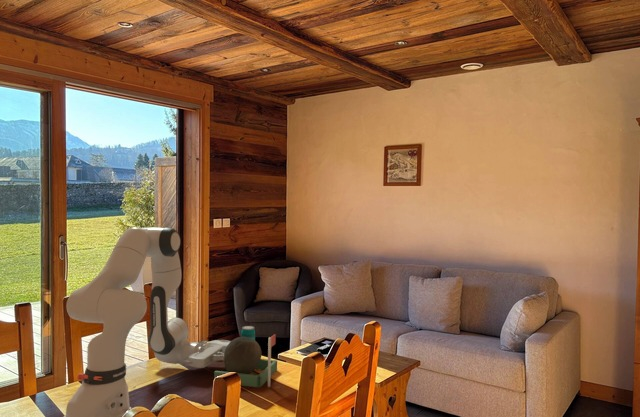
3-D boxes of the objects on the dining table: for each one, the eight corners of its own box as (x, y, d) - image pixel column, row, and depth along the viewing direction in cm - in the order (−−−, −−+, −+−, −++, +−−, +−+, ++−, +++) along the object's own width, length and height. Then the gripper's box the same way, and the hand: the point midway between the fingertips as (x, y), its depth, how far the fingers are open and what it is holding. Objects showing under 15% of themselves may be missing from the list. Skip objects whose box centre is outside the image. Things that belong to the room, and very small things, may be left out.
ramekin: (235, 352, 226) (236, 340, 226) (227, 359, 215) (227, 347, 215) (212, 350, 228) (212, 338, 228) (202, 357, 217) (202, 345, 217)
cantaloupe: (245, 385, 185) (246, 344, 185) (215, 378, 192) (216, 339, 192) (267, 374, 198) (268, 336, 197) (238, 367, 204) (239, 331, 204)
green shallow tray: (268, 388, 183) (269, 339, 182) (214, 382, 188) (214, 334, 187) (284, 371, 201) (285, 326, 201) (234, 366, 206) (235, 322, 206)
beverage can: (251, 365, 207) (252, 329, 207) (238, 364, 209) (239, 328, 208) (256, 361, 213) (257, 326, 213) (243, 360, 214) (244, 325, 214)
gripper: (180, 353, 190) (214, 357, 187) (205, 339, 210) (236, 342, 207) (180, 370, 190) (214, 373, 187) (205, 354, 210) (236, 357, 207)
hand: (226, 357), depth 197 cm, fingers closed
